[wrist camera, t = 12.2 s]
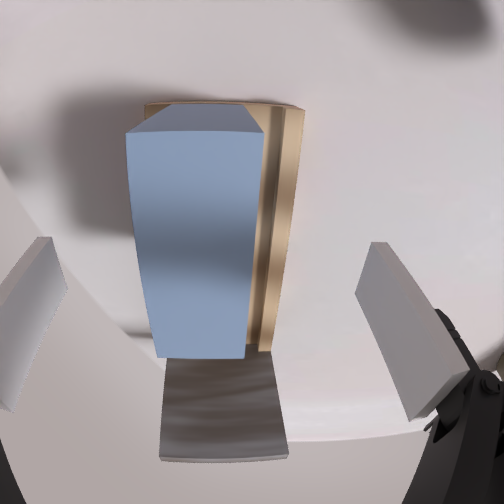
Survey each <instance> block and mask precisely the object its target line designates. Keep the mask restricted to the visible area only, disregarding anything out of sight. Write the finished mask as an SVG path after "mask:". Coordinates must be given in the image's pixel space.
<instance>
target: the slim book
mask: <svg viewBox="0 0 504 504" xmlns="http://www.w3.org/2000/svg"><path fill="white" fill-rule="evenodd" d="M264 134H265V133H264V132H263V130H262V129H261V128H260V126H259V125H258V124H257V122H256V121H255V120H254V118H253V117H252V116H251V114H250V113H249V112H248V111H247V109H246V108H245V107H244V105H234V104H171V105H169V106H168V107H166V108H164V109H163V110H161V111H159V112H158V113H156V114H154V115H153V116H151V117H150V118H148V119H146V120H145V121H143V122H142V123H140V124H139V125H137V126H136V127H134V128H133V129H131V130H130V131H128V132H127V133H125V135H126V155H127V170H128V182H129V193H130V203H131V212H132V221H133V229H134V237H135V244H136V251H137V257H138V264H139V270H140V276H141V282H142V287H143V293H144V298H145V303H146V308H147V313H148V318H149V323H150V327H151V332H152V336H153V341H154V345H155V349H156V353H157V357H158V358H185V359H243V358H244V357H245V346H246V335H247V324H248V313H249V302H250V291H251V280H252V269H253V258H254V246H255V235H256V224H257V213H258V202H259V190H260V179H261V168H262V157H263V145H264Z"/></svg>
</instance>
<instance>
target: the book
mask: <svg viewBox="0 0 504 504" xmlns="http://www.w3.org/2000/svg"><path fill="white" fill-rule="evenodd" d="M497 372H498V373H499V375H500V377H501V379H502V381H504V353H503V355H502V356H501V358H500V359H499V362H498V364H497Z"/></svg>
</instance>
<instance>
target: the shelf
mask: <svg viewBox="0 0 504 504" xmlns="http://www.w3.org/2000/svg"><path fill="white" fill-rule="evenodd" d="M171 104H234V105H244V107H245V108H246V109H247V111H248V112H249V113H250V114H251V116H252V117H253V118H254V120H255V121H256V122H257V124H258V125H259V126H260V128H261V129H262V130H263V132H264V133H265V134H264V145H263V157H262V168H261V179H260V190H259V202H258V213H257V224H256V235H255V246H254V258H253V269H252V280H251V291H250V302H249V313H248V324H247V335H246V346H245V357H244V358H243V359H185V358H167V363H166V372H165V382H164V394H163V405H162V418H161V432H160V449H159V457H160V459H161V461H168V462H188V463H234V462H254V461H266V460H277V459H286V458H287V457H288V455H289V451H288V445H287V440H286V434H285V429H284V423H283V417H282V412H281V406H280V401H279V395H278V390H277V384H276V378H275V373H274V367H273V362H272V356H271V346H272V340H273V334H274V329H275V323H276V317H277V311H278V305H279V299H280V293H281V286H282V280H283V274H284V267H285V261H286V254H287V247H288V240H289V234H290V227H291V220H292V212H293V205H294V198H295V190H296V183H297V175H298V167H299V159H300V151H301V142H302V134H303V125H304V116H305V110H303V109H301V108H299V107H296V106H288V105H277V104H264V103H246V102H212V101H195V102H161V103H149V104H146V105H145V120H146V119H148V118H150V117H151V116H153V115H154V114H156V113H158V112H159V111H161V110H163V109H164V108H166V107H168V106H169V105H171Z"/></svg>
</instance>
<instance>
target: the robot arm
mask: <svg viewBox="0 0 504 504" xmlns="http://www.w3.org/2000/svg"><path fill="white" fill-rule="evenodd" d="M67 290H68V287H67V285H66V282H65V279H64V276H63V273H62V270H61V267H60V264H59V261H58V257H57V254H56V251H55V247H54V244H53V240H52V237H37V239H36V240H35V241H34V242H33V243H32V245H31V246H30V247H29V248H28V250H27V251H26V252H25V253H24V255H23V256H22V257H21V258H20V259H19V261H18V262H17V263H16V265H15V266H14V267H13V269H12V270H11V271H10V273H9V274H8V275H7V277H6V278H5V279H4V281H3V282H2V284H1V285H0V408H1V409H3V410H6V411H9V412H12V413H13V412H14V410H15V407H16V404H17V401H18V398H19V396H20V392H21V390H22V387H23V385H24V382H25V380H26V377H27V375H28V372H29V370H30V367H31V365H32V362H33V360H34V358H35V355H36V353H37V351H38V348H39V346H40V344H41V342H42V340H43V337H44V335H45V333H46V331H47V329H48V327H49V325H50V323H51V320H52V319H53V317H54V315H55V312H56V311H57V308H58V307H59V305H60V303H61V301H62V299H63V297H64V295H65V293H66V291H67ZM355 295H356V297H357V299H358V302H359V304H360V306H361V308H362V310H363V312H364V314H365V317H366V319H367V321H368V323H369V325H370V328H371V330H372V332H373V334H374V337H375V339H376V341H377V343H378V346H379V348H380V350H381V353H382V355H383V357H384V360H385V362H386V364H387V367H388V369H389V372H390V374H391V376H392V379H393V381H394V384H395V386H396V389H397V391H398V394H399V396H400V399H401V402H402V404H403V407H404V409H405V412H406V415H407V417H408V420H409V422H411V421H415V420H418V419H422V418H425V417H427V416H428V415H429V414H430V413H431V412H432V411H433V410H434V409H435V408H436V410H437V412H438V415H437V416H436V417H435V418H434V419H433V420H432V421H431V422H430V423H429V424H427V425H426V427H425V428H424V431H427V430H428V429H429V428H430V427H431V426H432V428H431V431H430V432H429V433H430V435H429V438H428V441H427V443H426V446H425V449H424V452H423V455H422V457H421V460H420V463H419V465H418V468H417V470H416V473H415V475H414V478H413V480H412V482H411V485H410V487H409V489H408V491H407V493H406V496H405V498H404V500H403V502H402V504H504V381H500V380H499V379H498V378H497V376H496V375H495V374H493V373H492V372H490V371H486V370H482V371H481V370H480V369H479V367H478V365H477V363H476V362H475V360H474V358H473V356H472V355H471V353H470V351H469V350H468V348H467V346H466V345H465V343H464V341H463V340H462V339H461V338H460V337H461V336H460V335H459V333H458V332H457V330H455V327H454V325H453V324H452V322H451V321H450V319H449V318H448V317H447V316H446V315H445V314H444V313H443V312H442V311H441V310H439V309H434V308H433V307H432V305H431V304H430V302H429V301H428V299H427V298H426V296H425V295H424V293H423V292H422V290H421V289H420V287H419V286H418V284H417V283H416V282H415V280H414V279H413V277H412V276H411V274H410V273H409V272H408V270H407V269H406V267H405V266H404V265H403V263H402V262H401V261H400V259H399V258H398V256H397V255H396V254H395V252H394V251H393V250H392V248H391V247H390V246H389V244H388V243H387V242H371V245H370V248H369V252H368V255H367V258H366V261H365V264H364V268H363V271H362V274H361V277H360V280H359V283H358V286H357V288H356V291H355ZM0 504H26V502H25V500H24V498H23V496H22V493H21V491H20V489H19V487H18V485H17V482H16V480H15V478H14V475H13V473H12V470H11V468H10V465H9V462H8V460H7V457H6V454H5V451H4V449H3V446H2V443H1V440H0Z"/></svg>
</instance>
